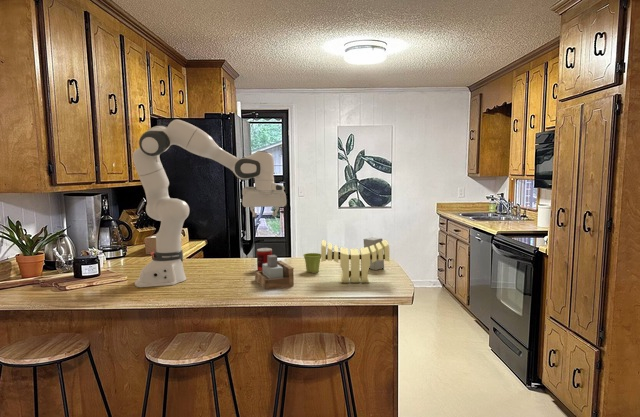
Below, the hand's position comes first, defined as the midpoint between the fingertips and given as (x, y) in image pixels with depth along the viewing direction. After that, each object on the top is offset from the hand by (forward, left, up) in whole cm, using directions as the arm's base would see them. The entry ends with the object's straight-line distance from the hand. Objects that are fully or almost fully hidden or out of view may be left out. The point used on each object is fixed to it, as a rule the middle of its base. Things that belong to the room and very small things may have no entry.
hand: (264, 216), depth 188 cm
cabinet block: (+1, -6, -30) cm, 31 cm away
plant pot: (+26, +6, -30) cm, 40 cm away
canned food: (+5, +20, -30) cm, 36 cm away
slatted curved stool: (+37, -18, -30) cm, 51 cm away
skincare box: (+57, -2, -30) cm, 65 cm away
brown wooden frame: (+2, -6, -30) cm, 31 cm away
